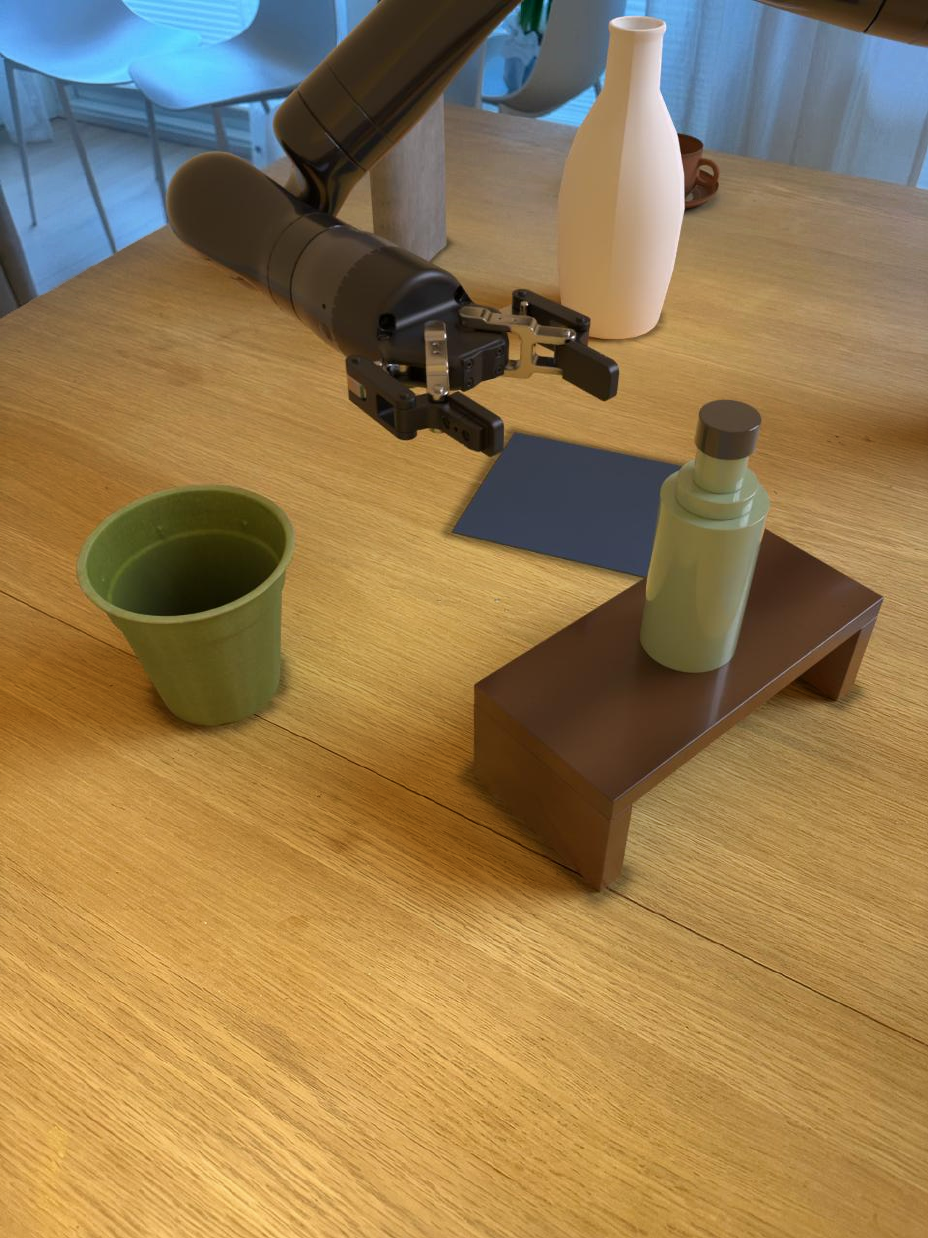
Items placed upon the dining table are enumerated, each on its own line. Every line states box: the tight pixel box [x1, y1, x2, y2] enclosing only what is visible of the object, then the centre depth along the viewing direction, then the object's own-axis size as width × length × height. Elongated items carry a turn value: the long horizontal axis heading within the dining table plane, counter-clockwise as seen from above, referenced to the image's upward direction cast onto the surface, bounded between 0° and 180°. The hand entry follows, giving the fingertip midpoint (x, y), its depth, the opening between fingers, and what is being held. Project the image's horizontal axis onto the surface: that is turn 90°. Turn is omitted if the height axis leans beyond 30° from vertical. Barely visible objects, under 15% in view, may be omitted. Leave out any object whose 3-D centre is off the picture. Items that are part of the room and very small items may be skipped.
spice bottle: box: [639, 399, 771, 673], centre depth 52 cm, size 5×5×14 cm
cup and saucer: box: [677, 132, 720, 210], centre depth 120 cm, size 12×12×6 cm
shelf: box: [473, 527, 885, 893], centre depth 60 cm, size 10×22×8 cm, turn 130°
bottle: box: [556, 15, 686, 340], centre depth 92 cm, size 11×11×25 cm
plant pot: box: [75, 484, 296, 727], centre depth 62 cm, size 12×12×11 cm
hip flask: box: [369, 93, 447, 262], centre depth 101 cm, size 16×4×20 cm, turn 165°
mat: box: [451, 431, 683, 579], centre depth 79 cm, size 16×14×1 cm
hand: (558, 411), depth 57 cm, fingers open, 8 cm apart
